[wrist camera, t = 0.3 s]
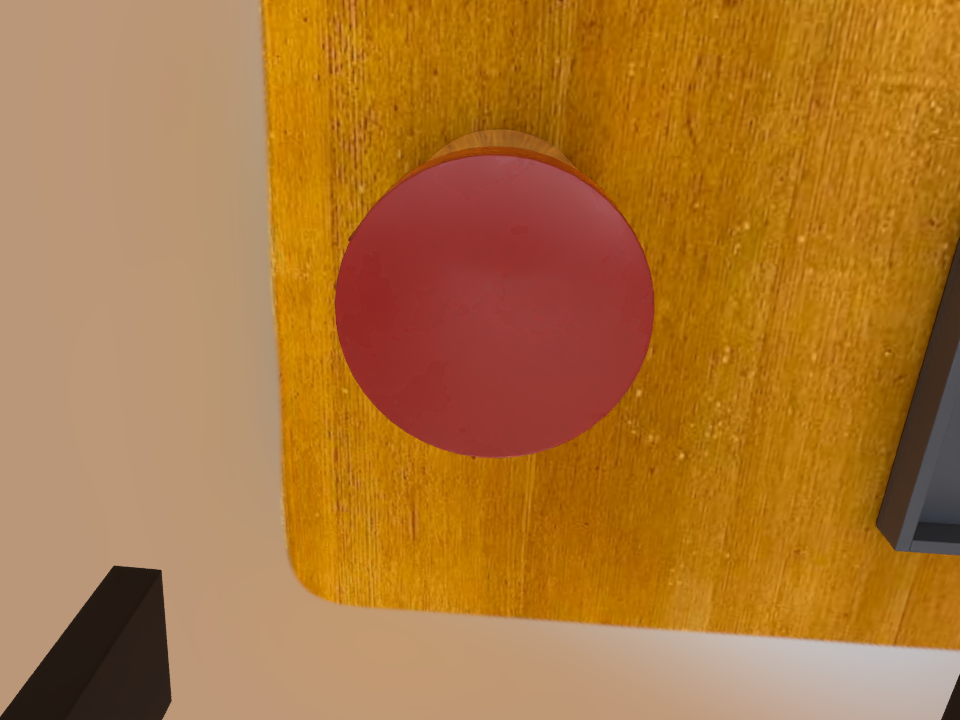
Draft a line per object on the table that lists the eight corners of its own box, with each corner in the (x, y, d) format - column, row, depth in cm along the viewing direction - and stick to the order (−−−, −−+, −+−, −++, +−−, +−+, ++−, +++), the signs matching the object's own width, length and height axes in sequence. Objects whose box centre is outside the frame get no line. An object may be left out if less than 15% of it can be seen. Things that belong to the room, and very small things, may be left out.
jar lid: (299, 353, 23) (283, 376, 21) (423, 85, 20) (416, 88, 18) (551, 474, 24) (554, 504, 22) (702, 237, 21) (718, 252, 20)
